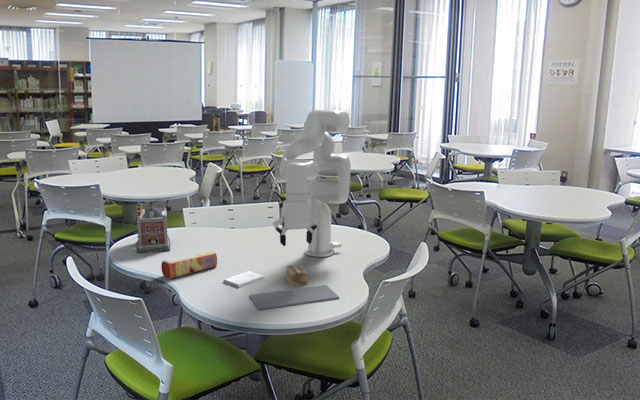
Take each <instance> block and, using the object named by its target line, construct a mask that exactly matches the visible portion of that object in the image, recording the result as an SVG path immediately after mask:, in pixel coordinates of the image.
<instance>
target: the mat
mask: <svg viewBox="0 0 640 400" xmlns="http://www.w3.org/2000/svg"><path fill="white" fill-rule="evenodd" d="M249 298H250V300H251V301H252V302H253V304H254V305H255V307H256V308H257V309H258V311H262V310H269V309H276V308H283V307H290V306H297V305H303V304H311V303H319V302H325V301H331V300H332V301H333V300H339V299H340V296H339V295H338V294H337V293H336V292H335V291H334V290H333V289H331V288H330V287H329V286H328V285H327V284H321V285H314V286H307V287H306V286H305V287H299V288H292V289H284V290H275V291H270V292H268V291H267V292H261V293H254V294H249Z"/></svg>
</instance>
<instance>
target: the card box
mask: <svg viewBox="0 0 640 400" xmlns="http://www.w3.org/2000/svg"><path fill="white" fill-rule="evenodd" d="M285 270H286V271H285V272H286V273H285V275H286V276H285V277H286V279H287V281H288V283H289V285H290V287H292V286H293V287H294V286H304V285H308V272H307V270H306V268H305V267H304V265H301V264H298V265H286V268H285Z"/></svg>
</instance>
